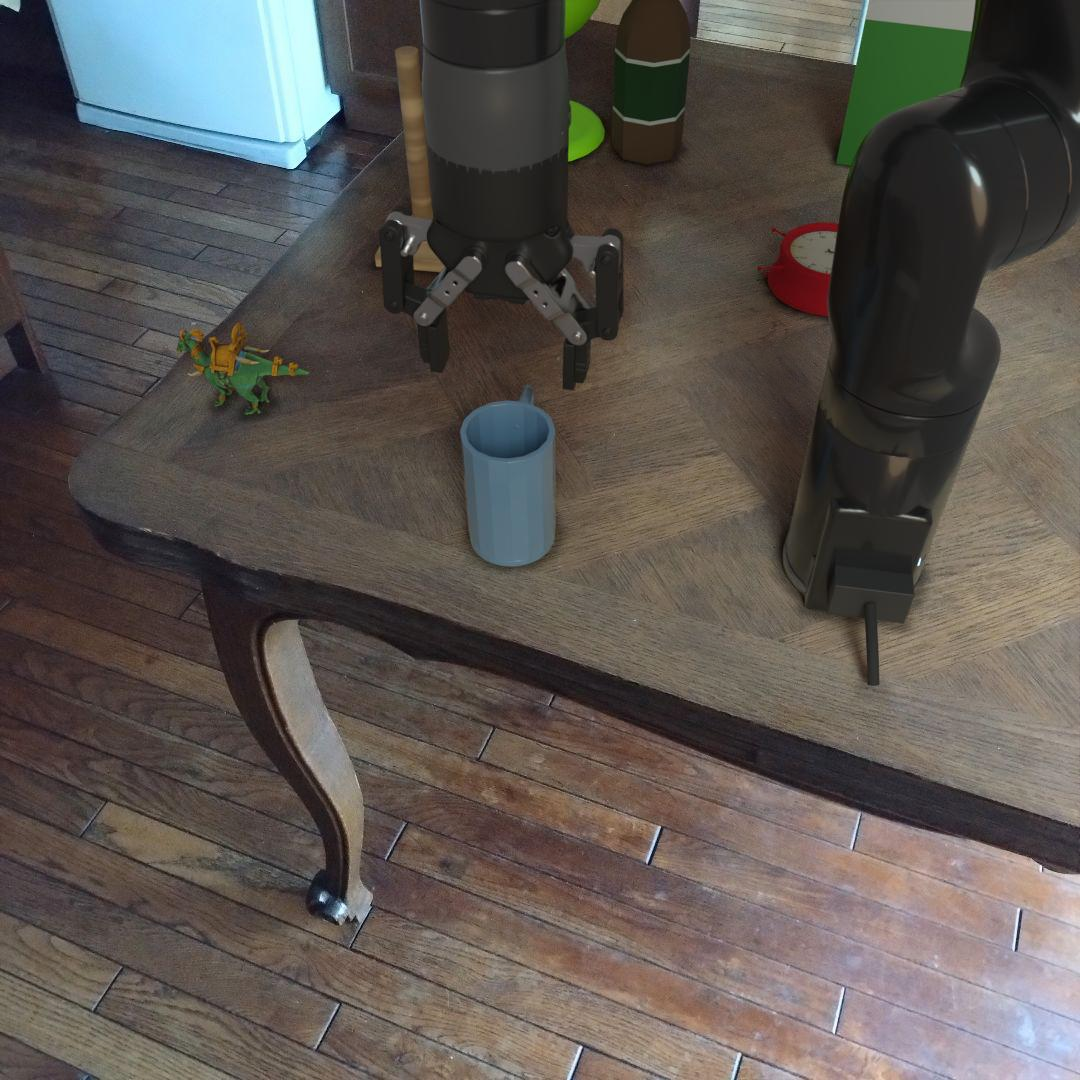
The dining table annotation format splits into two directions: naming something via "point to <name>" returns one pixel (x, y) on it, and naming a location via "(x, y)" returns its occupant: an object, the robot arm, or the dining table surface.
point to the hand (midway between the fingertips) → (505, 373)
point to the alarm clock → (804, 267)
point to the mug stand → (415, 150)
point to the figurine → (234, 366)
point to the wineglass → (584, 121)
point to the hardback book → (904, 61)
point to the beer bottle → (650, 80)
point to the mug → (510, 480)
